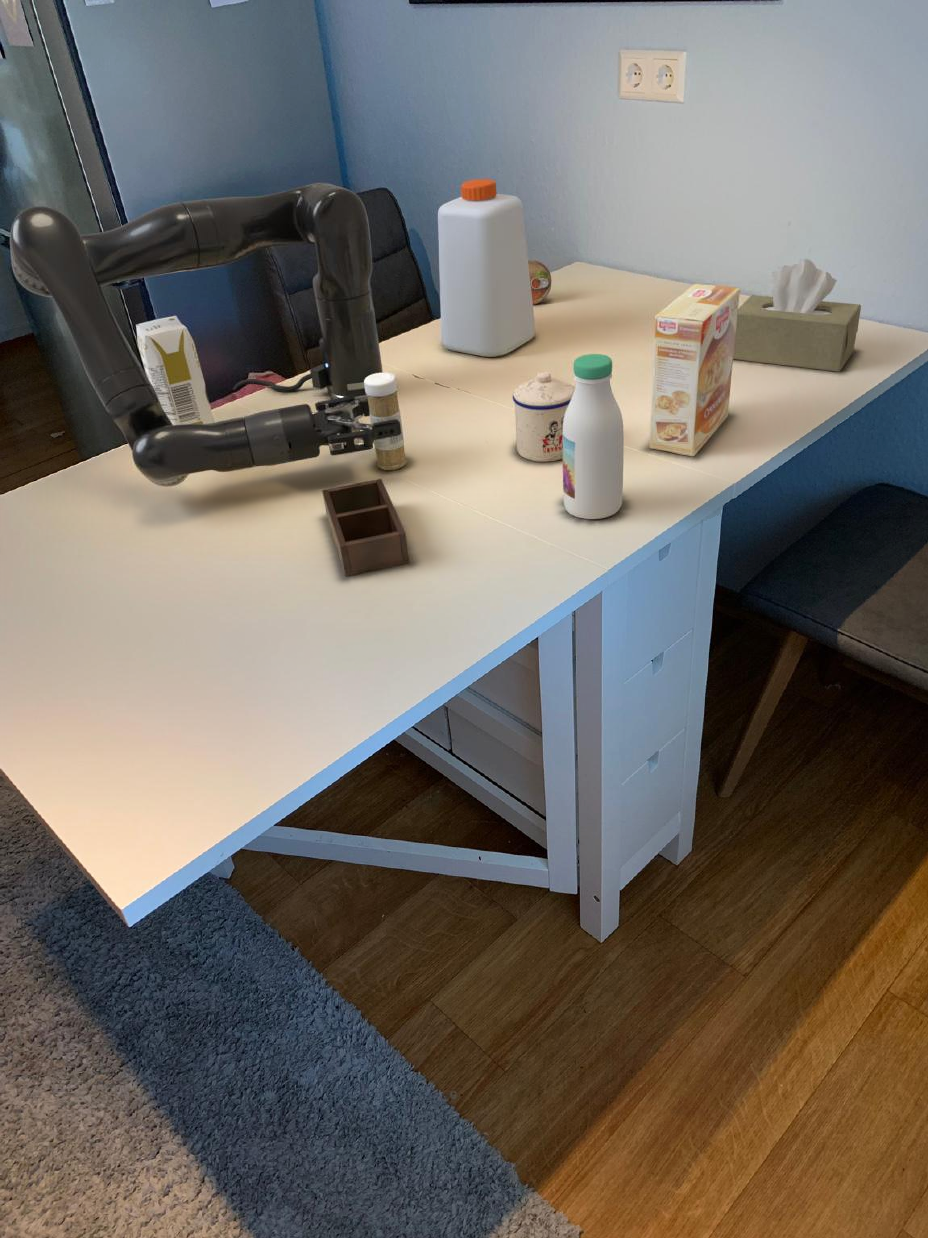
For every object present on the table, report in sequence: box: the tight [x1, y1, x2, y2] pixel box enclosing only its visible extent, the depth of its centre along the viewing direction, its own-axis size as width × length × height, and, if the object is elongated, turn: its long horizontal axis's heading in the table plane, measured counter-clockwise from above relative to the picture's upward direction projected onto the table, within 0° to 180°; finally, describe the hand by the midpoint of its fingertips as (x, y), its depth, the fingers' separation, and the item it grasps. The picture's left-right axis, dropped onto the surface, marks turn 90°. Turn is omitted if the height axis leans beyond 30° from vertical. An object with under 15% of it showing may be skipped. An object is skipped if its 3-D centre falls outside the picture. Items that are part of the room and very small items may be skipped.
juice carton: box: [135, 315, 215, 425], centre depth 144 cm, size 8×9×19 cm
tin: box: [528, 260, 552, 305], centre depth 191 cm, size 15×3×8 cm, turn 81°
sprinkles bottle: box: [364, 372, 408, 471], centre depth 134 cm, size 5×5×13 cm
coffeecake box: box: [649, 283, 741, 457], centre depth 133 cm, size 15×7×20 cm, turn 148°
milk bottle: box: [562, 353, 625, 520], centre depth 117 cm, size 8×8×20 cm
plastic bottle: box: [437, 178, 536, 358], centre depth 168 cm, size 15×15×28 cm
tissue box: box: [733, 258, 862, 373], centre depth 154 cm, size 19×10×16 cm, turn 59°
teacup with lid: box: [512, 371, 575, 463], centre depth 135 cm, size 12×9×12 cm
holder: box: [321, 478, 411, 577], centre depth 120 cm, size 8×15×4 cm, turn 15°
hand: (393, 415), depth 134 cm, fingers open, 8 cm apart
